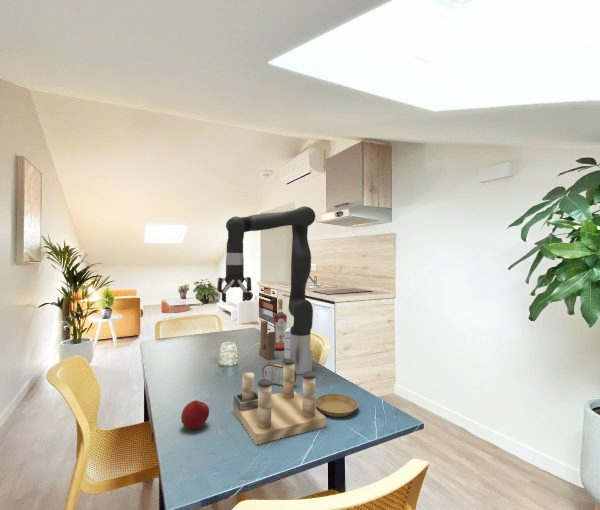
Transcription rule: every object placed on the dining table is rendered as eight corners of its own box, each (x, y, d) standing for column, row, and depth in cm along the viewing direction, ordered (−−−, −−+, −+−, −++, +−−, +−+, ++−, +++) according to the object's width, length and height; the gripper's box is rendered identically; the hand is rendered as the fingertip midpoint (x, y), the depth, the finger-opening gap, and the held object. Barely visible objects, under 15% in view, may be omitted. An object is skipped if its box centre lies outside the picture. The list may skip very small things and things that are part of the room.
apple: (201, 435, 99) (202, 408, 99) (176, 432, 101) (176, 405, 101) (212, 422, 107) (213, 397, 107) (189, 419, 108) (189, 395, 108)
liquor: (285, 347, 193) (286, 298, 193) (287, 350, 186) (287, 300, 186) (272, 347, 192) (273, 298, 192) (274, 351, 185) (274, 300, 185)
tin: (297, 386, 137) (297, 365, 137) (293, 389, 134) (293, 368, 134) (265, 380, 143) (265, 360, 143) (261, 382, 140) (261, 362, 140)
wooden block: (268, 360, 169) (268, 324, 169) (258, 354, 178) (259, 321, 178) (274, 359, 171) (275, 323, 171) (265, 353, 180) (265, 320, 180)
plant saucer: (362, 405, 120) (362, 398, 120) (350, 424, 107) (351, 416, 107) (323, 397, 127) (324, 390, 127) (308, 414, 113) (308, 406, 113)
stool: (293, 398, 125) (293, 355, 125) (325, 426, 105) (326, 376, 105) (232, 410, 115) (233, 364, 115) (256, 445, 94) (256, 389, 94)
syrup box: (295, 359, 171) (295, 331, 171) (283, 358, 172) (284, 330, 172) (297, 356, 176) (297, 328, 176) (286, 355, 178) (286, 328, 178)
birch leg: (251, 400, 116) (252, 371, 116) (255, 405, 112) (256, 375, 112) (240, 403, 114) (240, 373, 114) (244, 407, 110) (244, 377, 110)
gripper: (220, 264, 137) (220, 303, 137) (253, 264, 144) (253, 301, 144) (216, 263, 144) (215, 301, 144) (247, 263, 150) (247, 299, 150)
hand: (234, 301), depth 144 cm, fingers open, 8 cm apart
